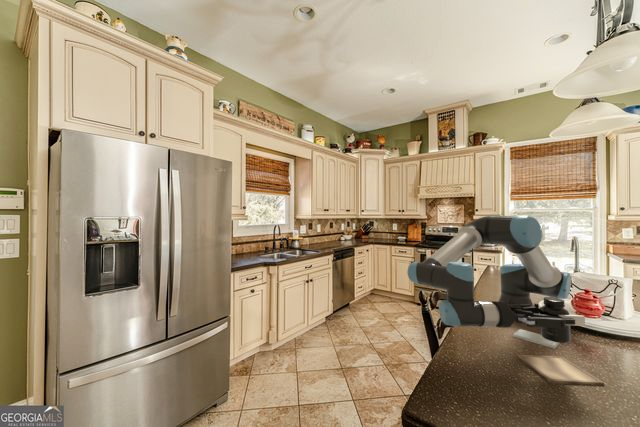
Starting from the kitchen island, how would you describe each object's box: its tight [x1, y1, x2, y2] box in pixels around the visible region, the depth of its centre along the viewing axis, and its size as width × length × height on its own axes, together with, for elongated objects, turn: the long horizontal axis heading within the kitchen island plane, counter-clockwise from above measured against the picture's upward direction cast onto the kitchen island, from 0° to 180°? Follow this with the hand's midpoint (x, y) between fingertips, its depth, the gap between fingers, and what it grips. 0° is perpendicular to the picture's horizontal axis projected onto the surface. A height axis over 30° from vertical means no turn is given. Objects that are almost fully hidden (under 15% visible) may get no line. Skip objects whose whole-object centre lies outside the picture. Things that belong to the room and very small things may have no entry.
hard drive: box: [512, 328, 561, 350], centre depth 101 cm, size 2×8×12 cm
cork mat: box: [516, 354, 605, 386], centre depth 81 cm, size 14×14×1 cm
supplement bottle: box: [539, 296, 572, 344], centre depth 81 cm, size 7×7×12 cm
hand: (572, 315), depth 81 cm, fingers closed on supplement bottle, 7 cm apart
